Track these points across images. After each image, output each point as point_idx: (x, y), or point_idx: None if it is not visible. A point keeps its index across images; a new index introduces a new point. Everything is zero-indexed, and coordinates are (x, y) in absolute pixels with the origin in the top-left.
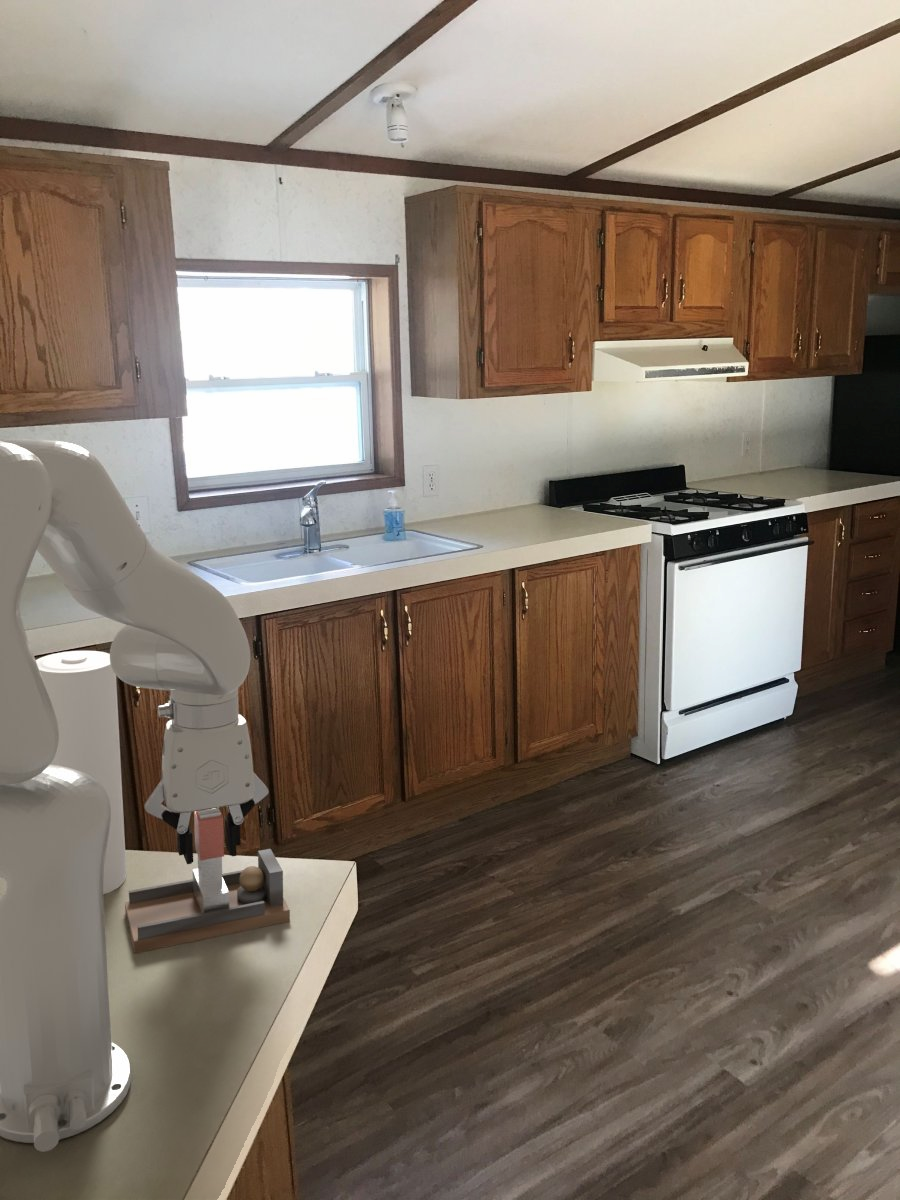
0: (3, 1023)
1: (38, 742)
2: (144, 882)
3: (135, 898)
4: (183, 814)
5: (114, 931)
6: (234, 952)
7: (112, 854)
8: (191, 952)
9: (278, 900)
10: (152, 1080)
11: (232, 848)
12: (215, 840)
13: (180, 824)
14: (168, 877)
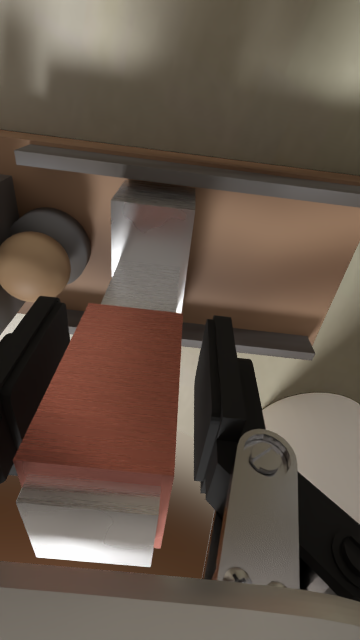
0: None
1: None
2: None
3: (298, 341)
4: (274, 558)
5: (353, 283)
6: (149, 33)
7: (303, 459)
8: (253, 105)
9: None
10: None
11: (43, 315)
12: (103, 356)
13: (282, 485)
14: (192, 394)
